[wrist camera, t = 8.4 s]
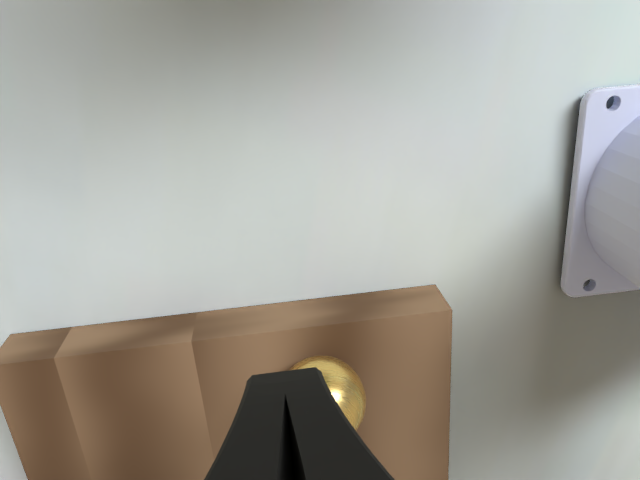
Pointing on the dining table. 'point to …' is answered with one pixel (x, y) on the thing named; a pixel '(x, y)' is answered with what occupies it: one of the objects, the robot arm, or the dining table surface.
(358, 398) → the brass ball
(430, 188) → the dining table surface
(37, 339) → the walnut board
